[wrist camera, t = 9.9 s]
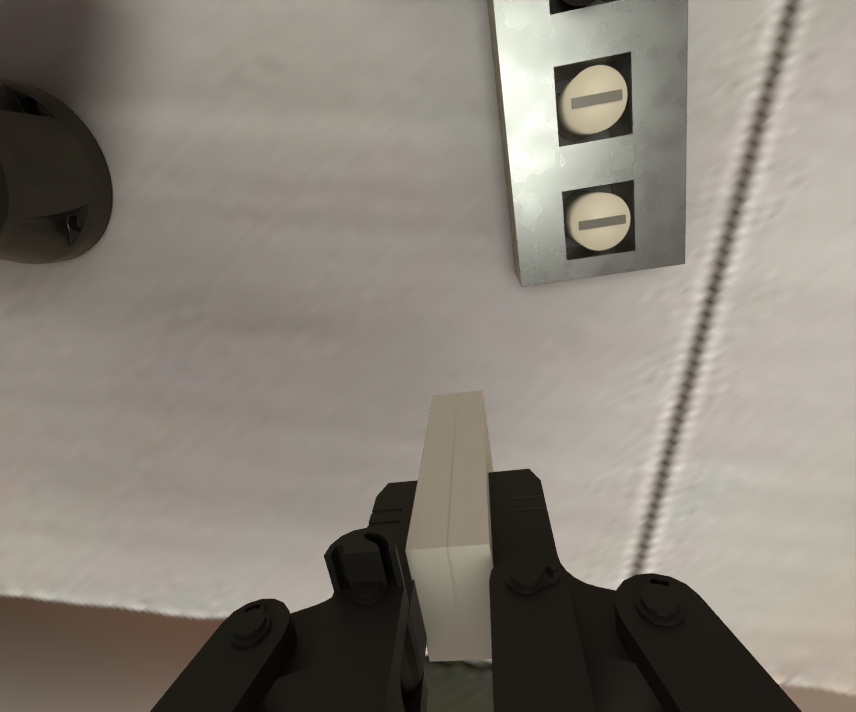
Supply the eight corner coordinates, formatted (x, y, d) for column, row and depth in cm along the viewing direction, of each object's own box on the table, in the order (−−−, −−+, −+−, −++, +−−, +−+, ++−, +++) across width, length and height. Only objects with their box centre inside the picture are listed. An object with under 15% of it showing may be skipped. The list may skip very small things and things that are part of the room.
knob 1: (552, 143, 39) (568, 136, 33) (548, 89, 38) (564, 70, 32) (603, 134, 39) (629, 126, 32) (601, 78, 37) (627, 58, 31)
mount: (515, 272, 43) (521, 286, 38) (481, -52, 35) (483, -96, 30) (656, 252, 42) (684, 263, 36) (653, -93, 34) (689, -147, 28)
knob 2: (559, 243, 42) (575, 254, 35) (556, 195, 41) (572, 198, 34) (607, 236, 41) (632, 246, 35) (605, 187, 40) (631, 188, 34)
